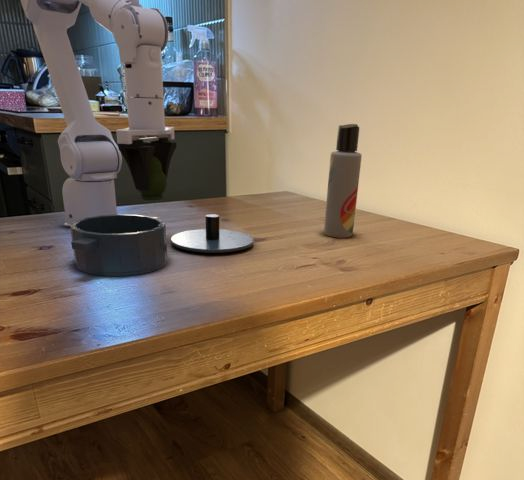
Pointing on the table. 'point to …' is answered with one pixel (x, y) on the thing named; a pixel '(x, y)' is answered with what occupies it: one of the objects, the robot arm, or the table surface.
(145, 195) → the avocado
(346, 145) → the lotion bottle
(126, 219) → the pot
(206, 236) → the pot lid
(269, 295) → the table surface
